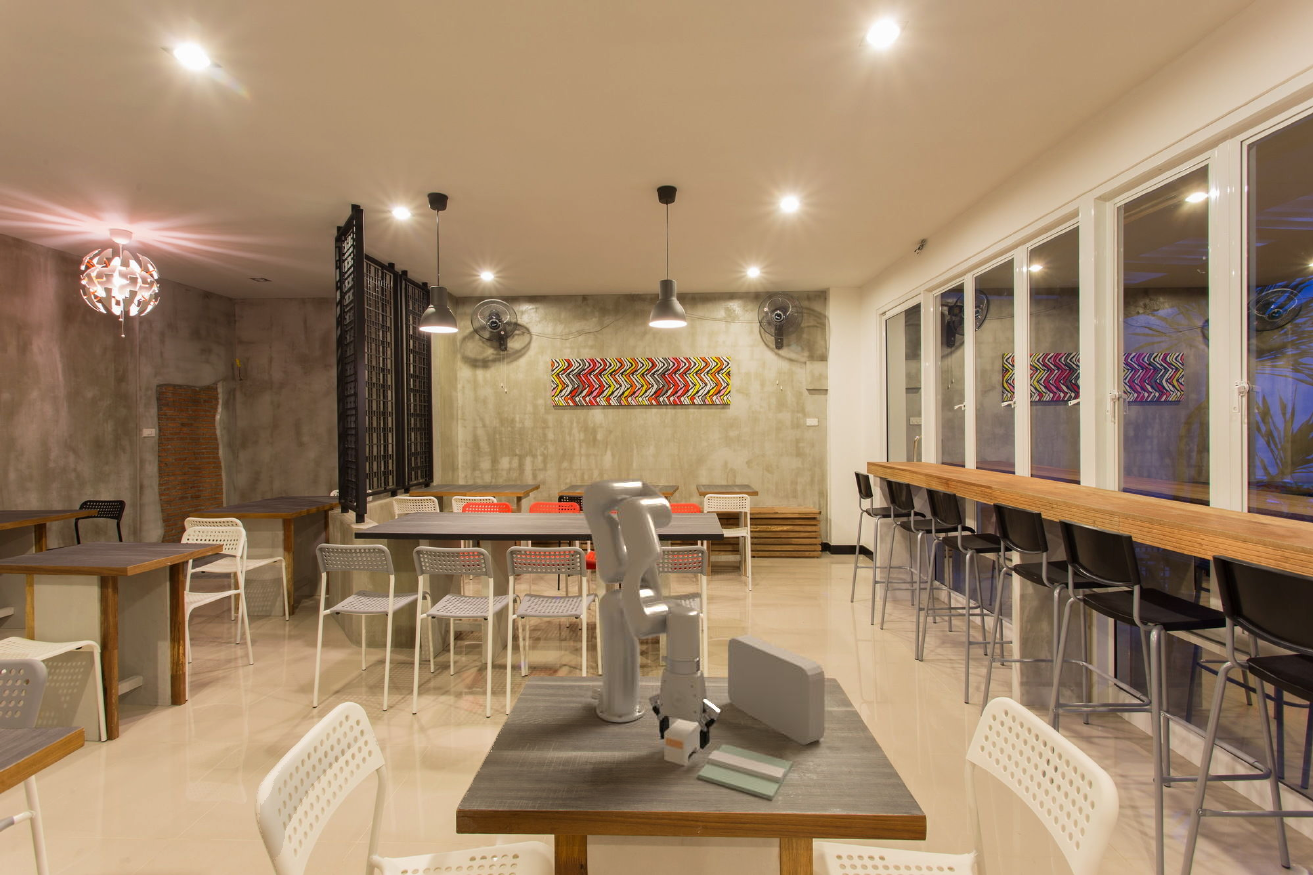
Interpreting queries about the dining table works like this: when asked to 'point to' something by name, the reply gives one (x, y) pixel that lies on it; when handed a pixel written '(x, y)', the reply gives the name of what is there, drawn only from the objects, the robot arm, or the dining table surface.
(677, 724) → the block
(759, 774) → the rail board
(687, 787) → the dining table surface
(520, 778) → the dining table surface
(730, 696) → the grey rounded block
